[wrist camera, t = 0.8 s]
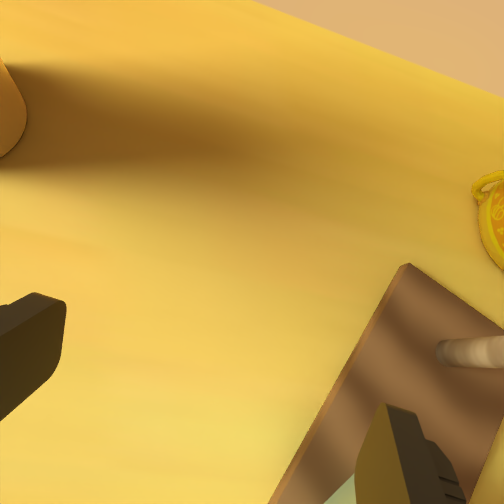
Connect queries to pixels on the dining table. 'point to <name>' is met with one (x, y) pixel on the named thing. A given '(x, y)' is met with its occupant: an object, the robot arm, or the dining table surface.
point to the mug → (491, 215)
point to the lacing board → (408, 388)
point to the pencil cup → (344, 493)
